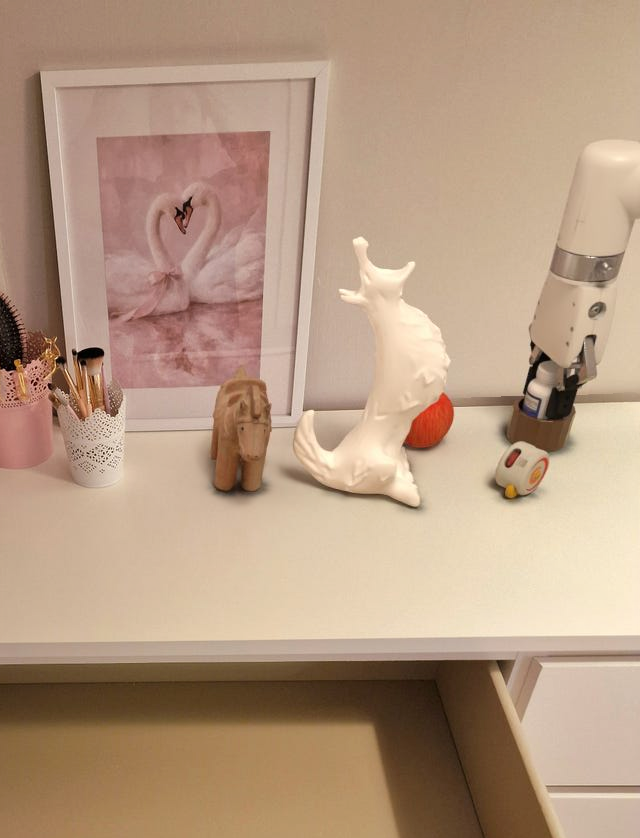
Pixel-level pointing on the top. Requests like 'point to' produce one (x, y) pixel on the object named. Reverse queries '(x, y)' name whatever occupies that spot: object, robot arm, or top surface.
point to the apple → (431, 424)
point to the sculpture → (382, 391)
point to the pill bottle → (542, 390)
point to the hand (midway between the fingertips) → (545, 403)
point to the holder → (538, 428)
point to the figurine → (240, 431)
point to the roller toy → (521, 469)
